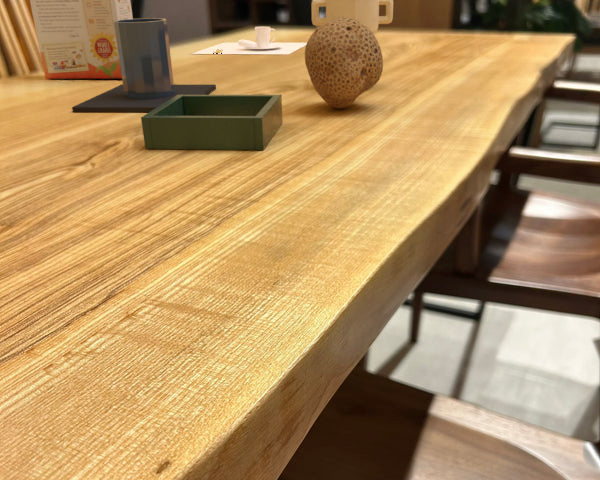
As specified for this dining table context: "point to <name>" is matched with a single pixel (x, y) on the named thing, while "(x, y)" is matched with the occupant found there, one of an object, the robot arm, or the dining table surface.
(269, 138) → the square tray
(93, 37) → the cracker box
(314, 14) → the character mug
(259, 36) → the teacup and saucer
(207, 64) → the dining table surface
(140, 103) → the rubber mat
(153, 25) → the cup
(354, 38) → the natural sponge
